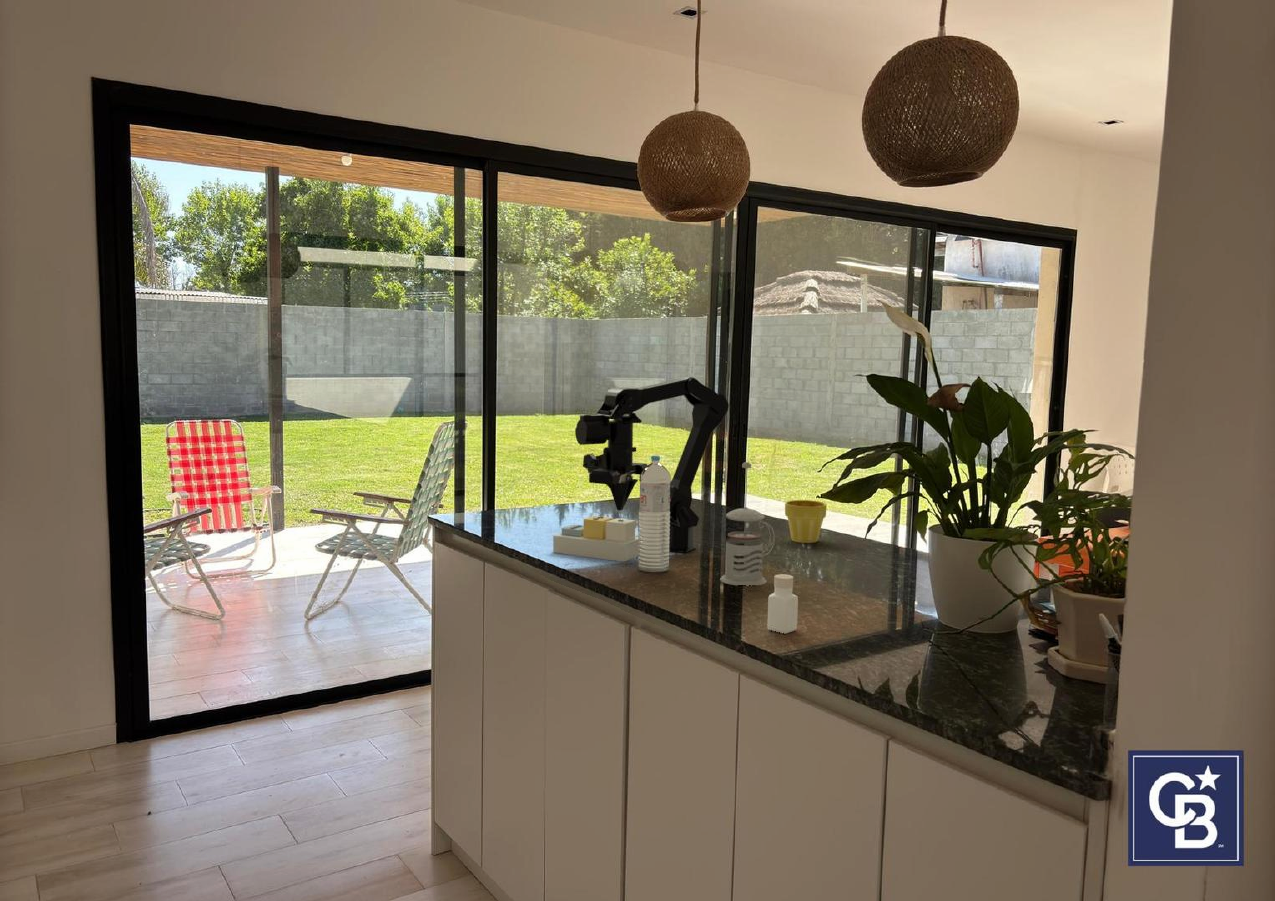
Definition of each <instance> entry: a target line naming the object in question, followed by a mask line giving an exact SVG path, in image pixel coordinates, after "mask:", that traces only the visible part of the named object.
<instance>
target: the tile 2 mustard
mask: <svg viewBox="0 0 1275 901" xmlns="http://www.w3.org/2000/svg"><path fill="white" fill-rule="evenodd" d="M613 519H614V517H608V516H597V515H593V516H589V517H586V518H583V526H584V529H583V538H591V539H599V540H604V539H606V522H607V521H610V520H613Z"/></svg>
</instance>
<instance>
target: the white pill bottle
mask: <svg viewBox="0 0 1275 901" xmlns="http://www.w3.org/2000/svg"><path fill="white" fill-rule="evenodd" d="M773 578H774V579H773V583H774V584H773V587H774V592H773V593H771V594H769V596H768V598H767V601H768V602H767V623H766V624H767V626H766V627H767V630H769V631H771V630H772V632H775V631H776V633H779V632H780V633H779V634H783V633H784V635H785V634H789V633H791V632H794V631H796V630H797V627H798V610H799V608H798V607H799V605H798V604H799V597H798V596H797V595H796V594H794V593H793V589H794V576H793V575H791V574H785V573H784V574H783V573H782V574H781V573H780V574H775V575H774V577H773Z"/></svg>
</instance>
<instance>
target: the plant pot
mask: <svg viewBox="0 0 1275 901" xmlns="http://www.w3.org/2000/svg"><path fill="white" fill-rule="evenodd" d="M784 515H785V517H787V520H788V521H787V522H788V527H789V532H790V538H791V541H792V542H795V543H798V544H799V543H801V544H812V543H813V544H814V543H817V542H818V540H819V537H820V533H821V528H822V525H823V521H824V519H825V518H826V517H827V504H826V502H822V501H820V500H811V499H796V500H795V499H794V500H793V499H792V500H788V501H785V503H784Z"/></svg>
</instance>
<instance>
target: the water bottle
mask: <svg viewBox="0 0 1275 901" xmlns="http://www.w3.org/2000/svg"><path fill="white" fill-rule="evenodd" d="M650 460H651V462H650V463H649V464H647V465H648V466H646V467H645V468H644V469H643V471H642V472H641V474H640V475H639V479H638V481H639V505H638V506H639V510H638V533H637V534H638V536H637V537H638V539H639V540H638V543H639V544H638V556H637V567H638V570H639V571H642V572H644V573H649V574H650V573H652V574H653V573H654V574H655V573H656V574H657V573H664V572H666V571H668V570H669V567H670V551H669V543H670V541H669V539H670V536H669V535H670V532H669V531H670V528H669V527H670V482H671V480H672V476H671V474H670V472H669V470H668V469H667V468H666V467H665V466H664V465H663V464H661V463H660V460H661V456H660V455H651V458H650Z"/></svg>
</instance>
